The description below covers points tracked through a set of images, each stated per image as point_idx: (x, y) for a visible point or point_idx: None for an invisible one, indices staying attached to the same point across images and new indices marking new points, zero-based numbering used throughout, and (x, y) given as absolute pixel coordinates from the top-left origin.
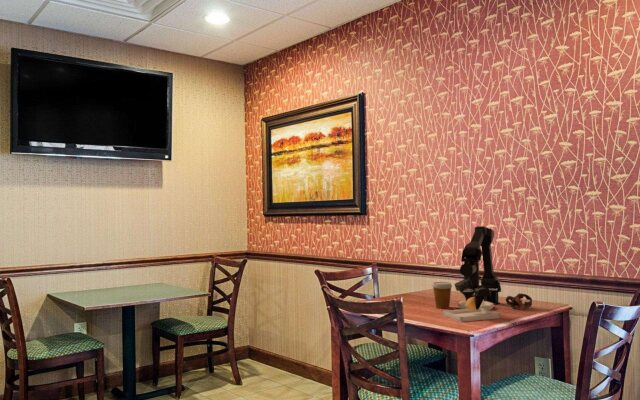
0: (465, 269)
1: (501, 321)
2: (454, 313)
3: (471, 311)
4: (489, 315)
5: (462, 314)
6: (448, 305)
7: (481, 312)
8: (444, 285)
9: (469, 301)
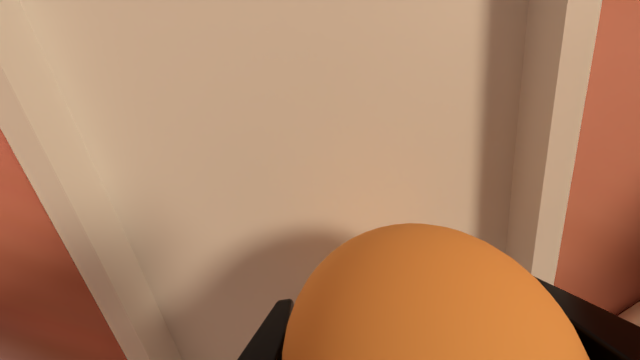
0: None
1: (35, 352)
2: (527, 3)
3: None
4: (128, 337)
5: (409, 101)
6: None
7: None
8: None
9: (387, 340)
